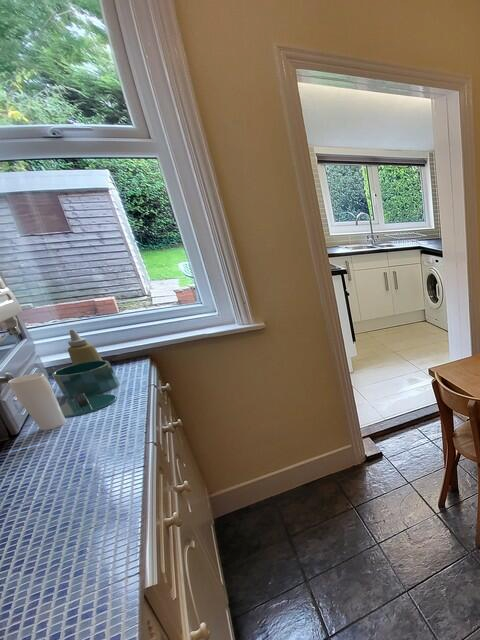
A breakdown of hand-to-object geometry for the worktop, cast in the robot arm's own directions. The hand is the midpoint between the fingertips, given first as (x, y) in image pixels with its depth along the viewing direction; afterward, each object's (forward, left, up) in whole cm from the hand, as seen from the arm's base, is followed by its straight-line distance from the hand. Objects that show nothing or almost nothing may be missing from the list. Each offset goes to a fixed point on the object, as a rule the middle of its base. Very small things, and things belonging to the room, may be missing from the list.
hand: (7, 338), depth 104 cm
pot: (+2, +26, -26) cm, 37 cm away
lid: (+4, +10, -25) cm, 27 cm away
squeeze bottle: (-1, +42, -26) cm, 50 cm away
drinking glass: (0, -1, -26) cm, 26 cm away
